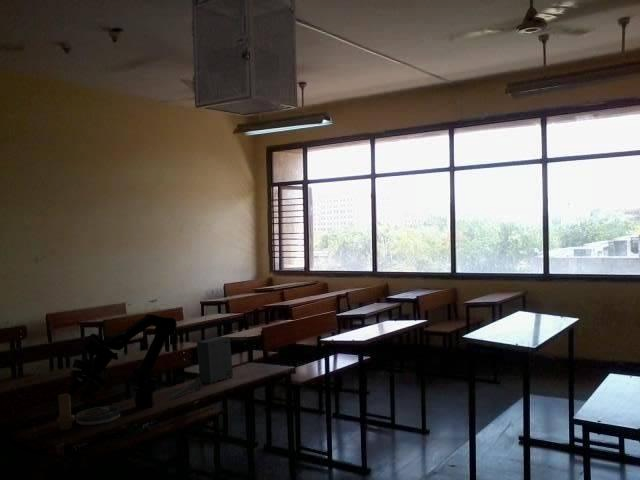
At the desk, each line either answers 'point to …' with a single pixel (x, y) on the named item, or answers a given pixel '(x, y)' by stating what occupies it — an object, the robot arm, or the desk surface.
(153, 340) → the robot arm
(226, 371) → the hard drive box
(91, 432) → the desk surface
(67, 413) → the brown waisted peg
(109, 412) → the carrier plate
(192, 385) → the caliper
